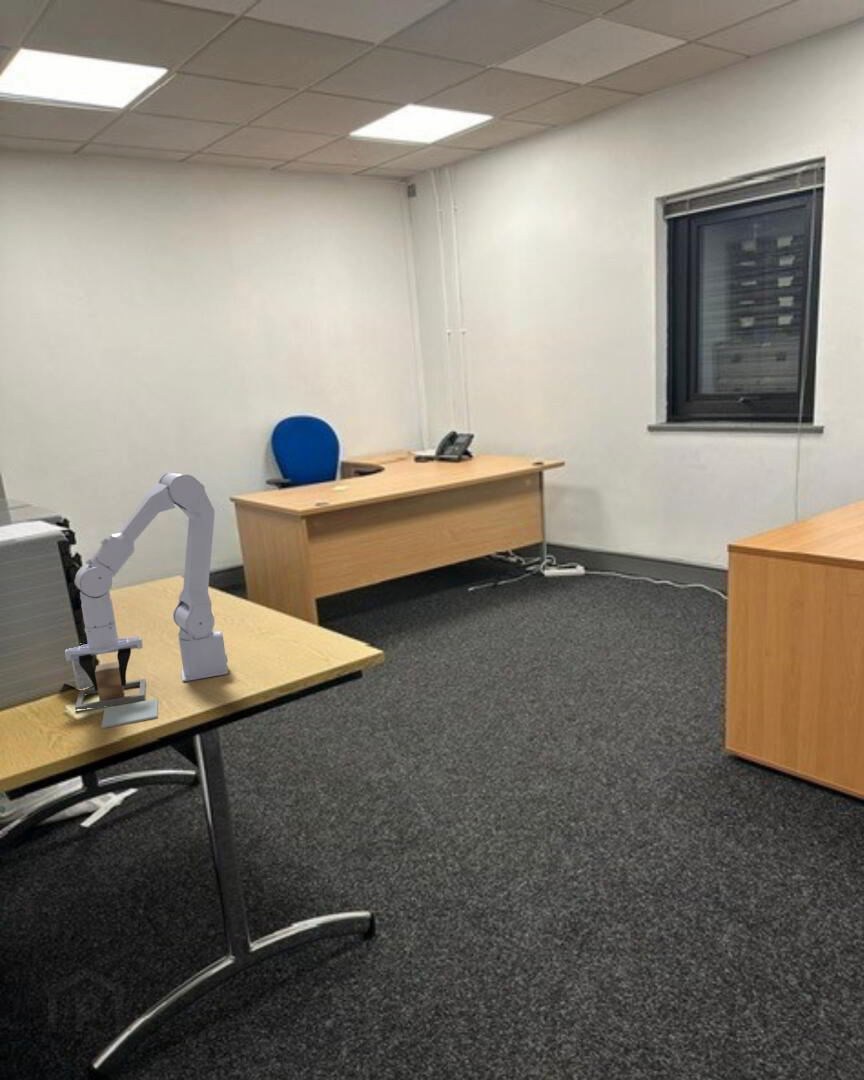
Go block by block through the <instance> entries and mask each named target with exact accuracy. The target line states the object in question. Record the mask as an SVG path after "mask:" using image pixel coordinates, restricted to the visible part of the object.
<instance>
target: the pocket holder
mask: <svg viewBox="0 0 864 1080" xmlns="http://www.w3.org/2000/svg"><path fill="white" fill-rule="evenodd" d="M136 687H139V690H138V691H139V692H138V694H133V695H127V696H121V697H116V698H110V699H105V700H98V701H94V702H87V703H83V701H84V702H85V699H84V698H86V696H85V694H92V695H96V693H97V694H99V693H98V690H97V691H95V688H94V687H91V688H89V689H85V690H80V691H78V692H79V693H78V696H77V699H76V703H75V706H74V709H75V711H76V710H77V709H87V708H96V709H99V708H98V707H102V708H105V707H104V706H107V707H114V706H119V705H124V704H130V703H135V702H141V701H146V690H147V682H146V678H143V679H138V680H136V679H135V680H131V681H126V685H125V686H124V690H126V689H130V688H131V689H132V688H136Z"/></svg>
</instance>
